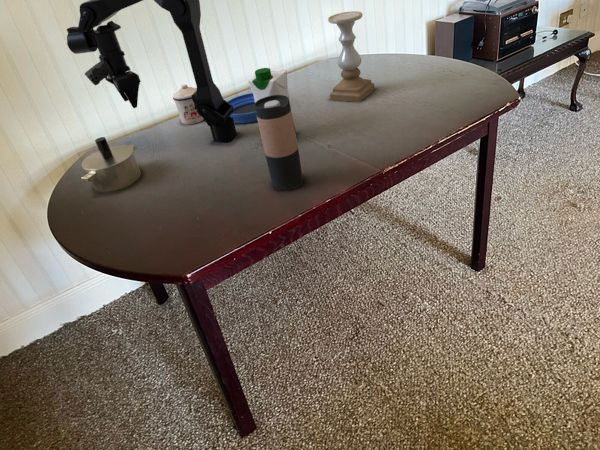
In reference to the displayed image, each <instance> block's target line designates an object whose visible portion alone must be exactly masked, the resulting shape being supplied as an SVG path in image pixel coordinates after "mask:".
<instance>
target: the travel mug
mask: <svg viewBox="0 0 600 450" xmlns="http://www.w3.org/2000/svg"><path fill="white" fill-rule="evenodd" d="M289 99H290V97H289V98H288V97H287V96H284V95H272V96H268V97H264V98H262V99H260V100H258V101H257V102H256V103H255V111H256V115H257V120H258V121H257V124H258V128H259V133H260V138H261V143H262V148H263V152H264V156H265V160H266V163H267V168H268V171H269V174H270V179H271V183H272V186H273V188H274V189H276V190H278V191H290V190H294V189H296V188H298V187H300V186H301V185H302V183H303V179H304V178H303V171H302V166H301V158H300V149H299V145H298V140H297V133H296V134H295V130H296V127H295V128H294V125H295V122H294V123H293V121H294V118H292V116H293V112H292V113H291V110H292V106H291V107H290V104H291V101H290V102H289Z"/></svg>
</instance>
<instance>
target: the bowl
mask: <svg viewBox="0 0 600 450" xmlns="http://www.w3.org/2000/svg"><path fill="white" fill-rule="evenodd" d="M226 102H228V103H229V104H231V105H232V106H233V113H232V114H231V115H230V117H233V120H234V124H247V123H249V124H250V123H253V122H254V123H255V122H258V120H257V115H256V111H255V100H254V95H253V92H250V93H245V94H241V95H239V96H235V97H232V98H231V99H229V100H227V101H226Z"/></svg>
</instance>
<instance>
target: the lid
mask: <svg viewBox="0 0 600 450" xmlns="http://www.w3.org/2000/svg"><path fill="white" fill-rule="evenodd" d="M94 142H95V144H96V147H97V149H98V150H97V151H95V152H93V153H90V154H89V155H88V156H86V157H85V158H84V159H83V161H81V167H82V170H84V171H86V170H87V171H101V170H106V169H109V168H112V167H115V166H118V165H120V164H122V163H124V162H125V161H127V160H128V159H130V158H131V157H132V155H133V154H134V153H135V150H134V149H133V148H132V147H131V146H132V145H131V146H129V145H127V144H118V145H113V146H110V145H109V144H108V141H107V139H106V137H105V136H100V137H98V138H96V139H95V140H94Z"/></svg>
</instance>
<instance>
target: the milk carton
mask: <svg viewBox="0 0 600 450" xmlns="http://www.w3.org/2000/svg"><path fill="white" fill-rule="evenodd" d="M248 84H249V87H250V89H251V93H253V95H254V100H255V103H256V102H257V101H258V100H260V99H262V98H264V97H268V96H272V95H284V96H287V97H288V98H289V102H290V107H291V108H292V105H291V104H292V103H291V99H290V93H289V88H288V71H287V70H271V68H269V67H261V68H259V69H256V70H255V71H254V76H253V77H252V78H250V79H249V80H248ZM291 113H292V114H293V111H292V109H291ZM293 117H294V116H293V115H292V118H293ZM293 119H294V118H293ZM294 121H295V120H293V123H294V128H295V134H296V135H297V131H296V126H295V122H294Z"/></svg>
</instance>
